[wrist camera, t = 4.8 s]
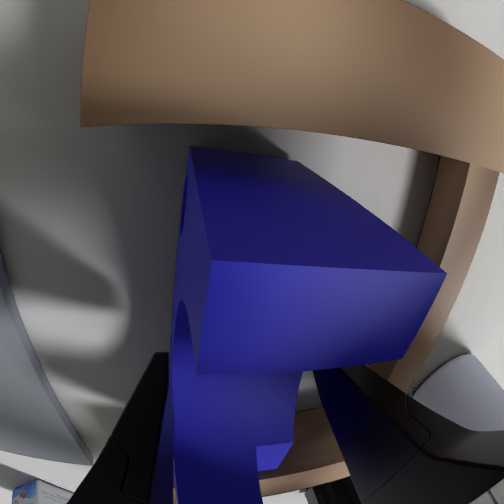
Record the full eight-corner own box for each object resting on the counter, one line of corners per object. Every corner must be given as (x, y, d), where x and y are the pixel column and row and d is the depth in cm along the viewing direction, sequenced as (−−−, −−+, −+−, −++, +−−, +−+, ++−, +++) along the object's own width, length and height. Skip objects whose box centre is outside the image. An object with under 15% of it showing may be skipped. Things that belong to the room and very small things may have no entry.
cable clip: (261, 417, 14) (294, 525, 9) (168, 420, 13) (182, 538, 8) (343, 170, 9) (498, 275, 4) (189, 145, 8) (211, 261, 3)
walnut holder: (484, 85, 9) (555, 102, 6) (364, 421, 18) (386, 462, 15) (128, 5, 6) (98, -43, 3) (163, 451, 15) (168, 505, 12)
